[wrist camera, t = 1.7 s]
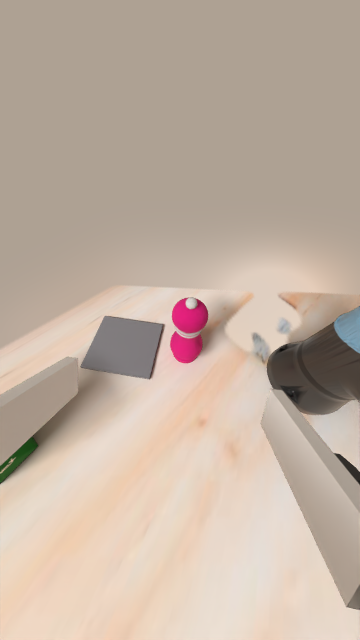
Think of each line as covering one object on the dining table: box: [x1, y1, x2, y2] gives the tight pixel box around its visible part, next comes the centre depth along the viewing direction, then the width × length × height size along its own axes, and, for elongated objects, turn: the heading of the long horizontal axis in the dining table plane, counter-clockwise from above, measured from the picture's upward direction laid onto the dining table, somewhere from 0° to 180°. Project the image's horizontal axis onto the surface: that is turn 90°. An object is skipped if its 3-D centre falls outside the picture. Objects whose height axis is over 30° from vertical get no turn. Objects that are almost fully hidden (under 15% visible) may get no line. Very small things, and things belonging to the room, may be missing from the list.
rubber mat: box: [81, 316, 163, 379], centre depth 41 cm, size 16×14×1 cm
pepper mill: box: [170, 297, 208, 363], centre depth 33 cm, size 7×7×20 cm
